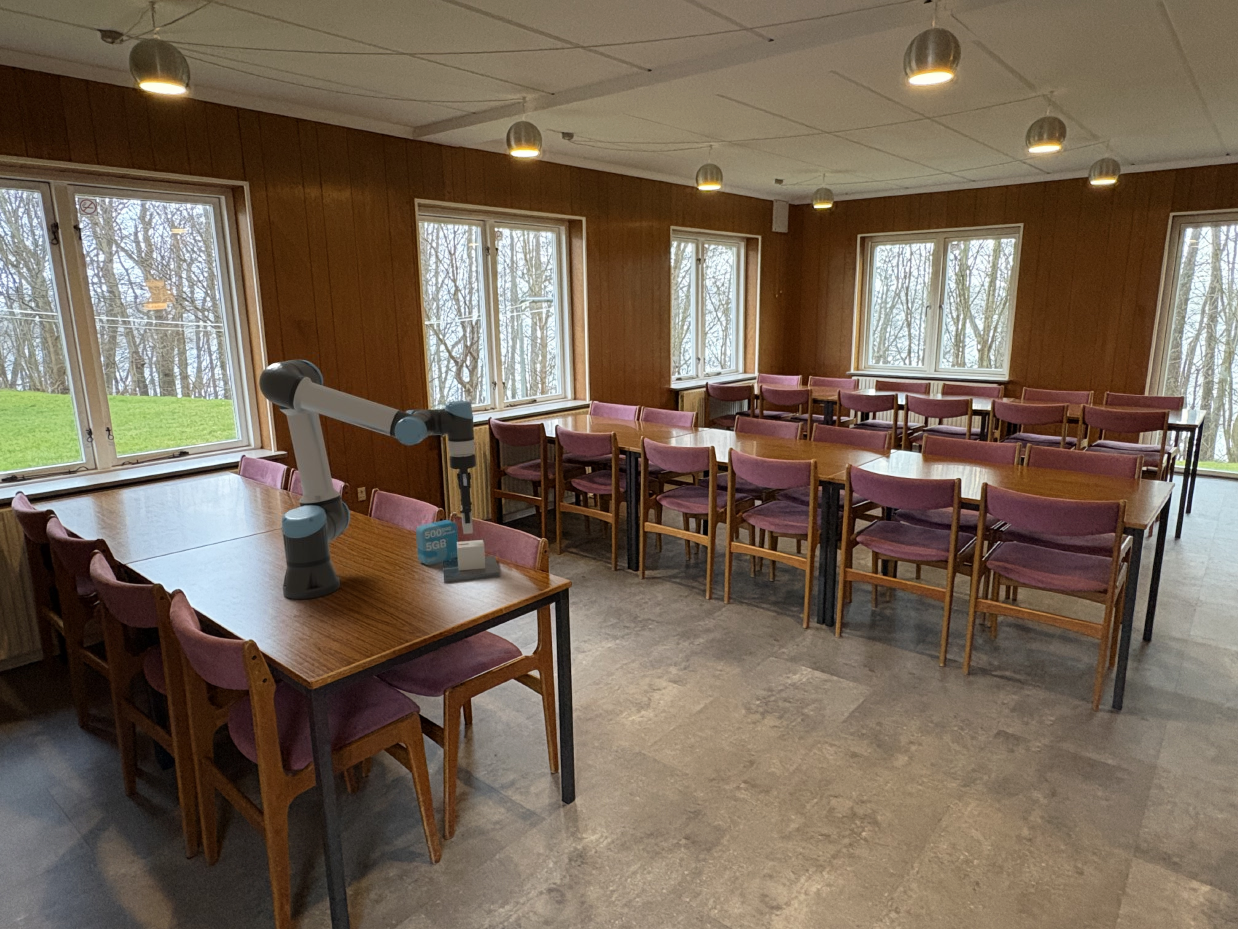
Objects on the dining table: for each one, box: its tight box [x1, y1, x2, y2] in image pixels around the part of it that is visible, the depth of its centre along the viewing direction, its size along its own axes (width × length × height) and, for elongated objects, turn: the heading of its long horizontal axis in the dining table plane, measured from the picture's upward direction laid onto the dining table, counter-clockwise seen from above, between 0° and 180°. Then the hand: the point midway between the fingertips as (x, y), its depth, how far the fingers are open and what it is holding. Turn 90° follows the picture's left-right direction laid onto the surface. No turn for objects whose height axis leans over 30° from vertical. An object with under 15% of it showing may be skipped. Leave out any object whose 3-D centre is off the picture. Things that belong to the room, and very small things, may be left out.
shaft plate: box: [442, 555, 501, 584], centre depth 233 cm, size 16×16×6 cm
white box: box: [457, 539, 486, 571], centre depth 233 cm, size 6×8×7 cm
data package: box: [415, 519, 459, 566], centre depth 243 cm, size 12×4×12 cm, turn 130°
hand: (467, 530), depth 231 cm, fingers open, 6 cm apart
